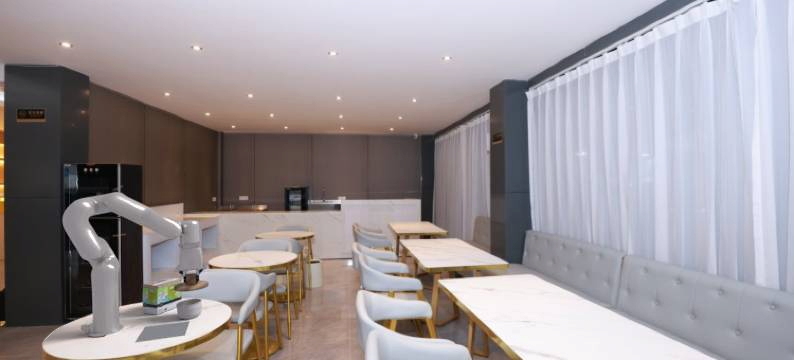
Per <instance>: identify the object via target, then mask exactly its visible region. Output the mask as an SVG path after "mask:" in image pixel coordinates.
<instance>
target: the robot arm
mask: <svg viewBox="0 0 794 360" xmlns="http://www.w3.org/2000/svg"><path fill="white" fill-rule="evenodd" d="M106 213H114V214H116V215H119V216H121V217H123V218H125V219H127V220H129V221H131V222H133V223H135V224H138V225H139V226H142V227H144V228H146V229H148V230H150V231H152V232H154V233H156V234H159V235H161V236H163V237H165V238H168V239H177V238H179V237H180V236H181V243H180V244H179V243H178V248H180V250H179V255H178V265H176V267H175V269H174V271H175V272H176V273H178V274H180V275H182V277H183V278H182V279H183V281H182V283H183V282H184V283H185V285H186V275H187V274H188V273H187V271H193V270H194V271H195V273H196V283H198V281H199V280H200V275H201V273H203V271H205V270H206V269H207V268H208V266H207V265H206V263H205V262H204V261H203V251H202V247H201V246H200V222H199V221H198V220H196V219H190V220H184V221H183V220H171V219H168V217H165V216H163V215H161V214H159V213H157V212H156V211H154V209H152V208H150V207H149V206H147V205H145V204H143V203H141V202H139V201H137V200H135V199H132V198H130V197H128V196H127V195H126V194H124V193H123V192H119V191H118V192H117V191H114V192H110V193H106V194H100V195H95V196H94V195H93V196H87V197H84V198H83V197H81V198H79V199H77V200H76V199H75V200H74V201H73V202H71V204H70V205H69V206H67V208H66V209H65V211H64V213H63V215H62V224H63V225H62V226H63V228H64V230H65V232H66V234H67V235H68V237H69V238H70V241H71V242H72V244H73V245H74V247H75V249H76V250H77V252H78V254H79V256H80V257H81V258H82V260H86V261H88V262H89V264H90V266H91V267H92V270H91V273H90V277H91V278H90V279H91V295H92V296H91V297H92V300H91V301H92V322H91V323H88V324H86V323H85V324H81V326H80V330H82V331H88V333H87V335H88V336H89V337H93V338H99V337H106V336H107V335H108V336H109V335H112V334H115V333H118V332H120V331H123V330H124V326H125V325H124V324H122V323H120V282H119V281H120V279H119V276H120V274H119V272H120V267H121V265H120V261H119V260H118V258H117V257H116V255H115V253H114V251H113V250H112V248H111V247H110V245H109V243H108V242H107V241H106V239H104V238H102V237H100V236H98V234H97V233H96V231H95V229H94V228H93V226H92V224H91V223H90V221H89V218H90V217H93V216H97V215H101V214H106Z"/></svg>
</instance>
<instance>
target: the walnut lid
mask: <svg viewBox="0 0 794 360" xmlns="http://www.w3.org/2000/svg"><path fill="white" fill-rule="evenodd" d="M186 274H187V275H186V285H185V283H184V282H183V281H182V283H179V284H177V285H175V286H174V290H175V291H180V292H182V293H183V292H194V291H198V290H202V289H205V288H207V287H209V281H207V280H200V279H199V281H198V283H196V272H193V273H186Z"/></svg>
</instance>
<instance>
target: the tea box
mask: <svg viewBox="0 0 794 360" xmlns="http://www.w3.org/2000/svg"><path fill="white" fill-rule="evenodd" d="M182 279H183V278H177V277H164V278H161V279H158V280H154V281H150V282H146V283H144V284H142V314H147V315H153V316H154V315H155V316H158V315H159V314H162V313H165V312H167V311H170V310H174V309H177V306H176V304H177V303H179V302H181V301H183V299H182V298H183V297H182V295H183V294H182V293H183V292H180V291H175V290H174V286H175V285H177V284H179V283H183V281H182Z"/></svg>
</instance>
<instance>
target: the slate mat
mask: <svg viewBox="0 0 794 360" xmlns="http://www.w3.org/2000/svg"><path fill="white" fill-rule="evenodd" d="M190 323H191V322H190V321H189V320H188V321H187V320H186V321H179V322H172V323H165V324H159V325H158V324H157V325H148V326H144V328H143V329H142V331H141V333H140V334H139V336H138V337H137V339H136V340H135V343H140V342H142V343H143V342H148V341H154V340H162V339H168V338H169V339H170V338H176V337H177V338H178V337H185V336H186V333H187V332H188V331H187V330H188V327H189V324H190Z"/></svg>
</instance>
